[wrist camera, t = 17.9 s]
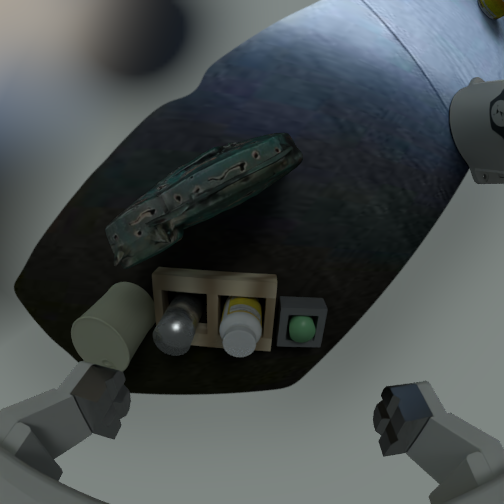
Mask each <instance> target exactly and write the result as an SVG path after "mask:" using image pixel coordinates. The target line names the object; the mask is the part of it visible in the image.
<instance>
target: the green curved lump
mask: <svg viewBox="0 0 504 504" xmlns="http://www.w3.org/2000/svg"><path fill="white" fill-rule="evenodd" d="M302 160H303V155H302V153H301V151H300V150H299V149H298V148H297V147H296V145H295V143H294V141H293V140H292V138H291V137H290V135H289V134H288V133H274V134H268V135H264V136H260V137H256V138H252V139H249V140H245V141H242V142H238V143H229V144H227V145H226V146H220V147H214V148H212V149H210V150H208V151H207V152H205V153H203V154H202V155H200V156H199V157H197V158H195V159H194V160H192V161H191V162H189V163H187V164H185V165H184V166H181V167H179V168H177V169H176V170H175V171H174V172H173V173H171V174H169V175H168V176H166V177H165V178H164V179H163V180H162V181H161V182H158V183H157V184H156V185H155V186H154V187H153V188H152V189H151V190H150V191H148V192H147V193H146V194H144V195H143V196H142V197H140V198H139V199H138V200H136V201H135V202H134V203H133V204H132V205H131V206H129V207H128V208H127V209H126V210H124V211H123V212H122V213H121V214H120V215H118V216H117V217H116V218H115V219H114V220H113V221H112V222H111V223H110V224H109V225H108V226H107V227H106V229H105V232H106V234H107V237H108V240H109V243H110V245H111V248H112V250H113V252H114V254H115V258H114V265H115V266H117V265H118V263H120V264H121V265H122V267H123V268H124V269H127V268H130V267H132V266H134V265H136V264H139V263H141V262H143V261H145V260H147V259H149V258H151V257H153V256H155V255H157V254H159V253H161V252H163V251H164V250H165V249H167V248H169V247H170V246H172V245H173V244H175V243H176V242H178V241H180V240H181V239H182V237H183V233H184V232H183V229H186V228H189V227H191V226H193V225H196V224H198V223H200V222H203V221H206V220H208V219H210V218H212V217H214V216H216V215H218V214H219V213H221V212H224V211H226V210H228V209H231V208H233V207H235V206H237V205H239V204H241V203H243V202H245V201H246V200H247V199H249V198H251V197H254V196H256V195H257V194H259V193H260V192H262V191H264V190H265V189H266V188H268V187H269V186H270V185H272V184H273V183H275V182H276V181H278V180H279V179H281V178H282V177H283V176H285V175H286V174H288V173H289V172H291V171H292V170H293V169H295V168H296V167H297V166H298V165H299V164H300V163H301V162H302Z"/></svg>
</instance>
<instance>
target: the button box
mask: <svg viewBox="0 0 504 504" xmlns="http://www.w3.org/2000/svg"><path fill="white" fill-rule="evenodd" d="M327 310H328V309H327V306H326V304H325V302H324V300H323V298H307V297H285V296H280V299H279V309H278V318H277V328H276V341H277V346H283V347H320V346H321V341H322V336H323V331H324V326H325V321H326V315H327ZM289 315H305V316H313V318H312V319H313V323H314V326H315V329H316V332H315V335H314V337H313V338H312V339H311V340H309V341H307V342H304V343H299V342H295V341H294V340H292V338H291V337H290V333H289V328H287V324H288V316H289Z"/></svg>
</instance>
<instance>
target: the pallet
mask: <svg viewBox="0 0 504 504" xmlns="http://www.w3.org/2000/svg"><path fill="white" fill-rule="evenodd" d="M152 284H153V296H154V307H155V317H156V326H157V324H158V323H159V321H160V319H161V318H162V316H163V315H164V313H165V311H166V310H167V308H168V306H169V299H168V291H177V292H188V293H200V294H207V324H206V323H199V324H198V327H197V329H196V332H195V335H194V337H193V340H192V343H191V345H195V346H205V347H215V348H224V347H223V340H222V338H221V336H220V332H219V328H220V305H221V295H227V296H242V297H258V298H265V310H264V322H263V328H262V334H261V337H260V339H259V341H258V342H257V343H256V348H255V350H257V351H271V342H272V332H273V322H274V312H275V302H276V292H277V277H276V275H272V274H255V273H239V272H223V271H208V270H194V269H180V268H167V267H158V268H157V269H156V270H155V271H154V272H153V273H152Z"/></svg>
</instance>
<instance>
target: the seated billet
mask: <svg viewBox="0 0 504 504" xmlns="http://www.w3.org/2000/svg"><path fill="white" fill-rule="evenodd" d="M204 308H205V302H204V299H203V297H202V296H201V295H200V294H199V293H188V292H178V293H177V294H176V295H175V297H174V298H173V300H172V302H171V303H170V305H169V306H168V308H167V310H166V311H165V313H164V315H163V316H162V318H161V319H160V321H159V323H158V324H157V326H156V328H155V329H154V331H153V340H154V343H155V344H156V346H157V347H158V348H159V349H160V350H161V351H163V352H164V353H166V354H169V355H173V356H179V355H183V354H185V353H186V352H187V351H188V350H189V348H190V346H191V343H192V340H193V337H194V335H195V332H196V329H197V327H198V324H199V321H200V319H201V316H202V313H203V311H204Z"/></svg>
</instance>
